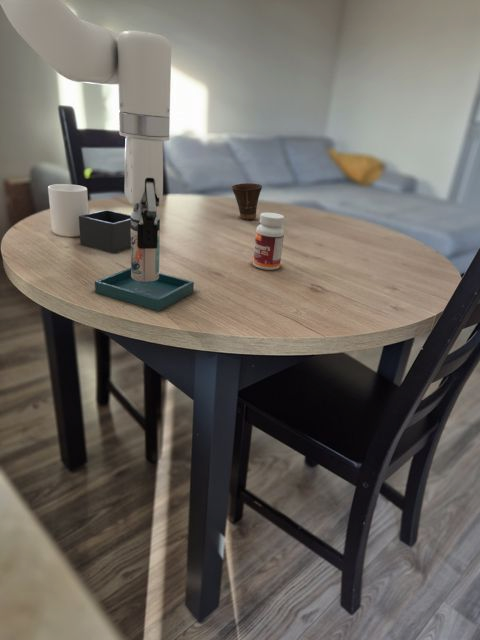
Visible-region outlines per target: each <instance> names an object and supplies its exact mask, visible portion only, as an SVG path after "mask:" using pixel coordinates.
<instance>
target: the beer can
mask: <svg viewBox="0 0 480 640" xmlns="http://www.w3.org/2000/svg"><path fill="white" fill-rule="evenodd" d="M144 210H146V209H143V212H144ZM130 215H131V217H130V221H131V248H130V268H131V277H132V278H133V279H134V280H136V281H137V282H141V283H151V282H154V281H156V280H158V278H159V273H160V245H161V243H160V241H161V238H160V237H161V236H160V235H161V234H160V233H161V231H160V230H161V227H160V226H161V217H160V215H159V213H158V212H157V225H158V240H157V248H156V249H140V248H138V245H137V224H139V209H135V210H132V212H131V214H130Z"/></svg>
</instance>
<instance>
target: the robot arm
mask: <svg viewBox="0 0 480 640" xmlns="http://www.w3.org/2000/svg"><path fill="white" fill-rule="evenodd" d="M0 6H1V8H2V11H3V12H4V14H5V16H6V18H7V20H8V22H9V23H10V24H11V26H12V27H13V28H14V30H15V31H16V32H17V33H18V34H19V36H20V37H21V38H22V39H23V40H24V41H25V42H26V44H27V45H29V47H30V48H31V49H32V50H33V51H34V52H35V53H36V54H37V55H38V56H39V57H40V58H41V59H42V60H43V62H45V64H47V65H48V66H49V67H50V68H52V69H53V70H54V71H55V72H56V73H57V74H59V75H60V76H61V77H63V78H65V79H66V80H69V81H71V82H75V83H86V84H92V85H103V86H115V85H117V86H118V110H119V111H118V118H119V119H118V120H119V121H118V122H119V127H118V128H119V135H120V136H121V137H123V138H125V143H124V191H123V192H124V196H125V198H126V199H127V201H128V202H129V204H130V205H131V206H132V209H133V210H135V209H139V224H137V245H138V248H140V249H156V248H157V240H158V225H157V213H158V207H160V206H161V205H162V204H163V197H164V148H163V147H164V146H163V145H164V143H163V142H167V141H170V126H171V125H170V124H171V123H170V122H171V121H170V120H171V79H172V77H171V75H172V73H171V72H172V68H171V67H172V47H171V43H170V41H169V39H168V38H167V37H165V36H163V35H161V34H157V33H154V32H148V31H143V30H131V29H130V30H124V31H121V32H120V31H116V30H113V29H110V28H106V27H103V26H101V25H98V24H96V23H94V22H89V21H86V20H83V19H81V18H80V17H79V16H78V15H76V13H75V12H74V11H73V10H72V9H71V8H70V7H69V6H68V5H67V4H66V3H65V2H64V1H63V0H0ZM143 209H146V210H144V212H143ZM133 210H132V211H133Z"/></svg>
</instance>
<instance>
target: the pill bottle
mask: <svg viewBox="0 0 480 640" xmlns="http://www.w3.org/2000/svg"><path fill="white" fill-rule="evenodd" d="M259 223H260V224H258V226H256V230H255V238H254V248H253V256H252V265H253V266H254V267H256V268H257V269H261V270H266V271H273V270H277V269H279V268H280V266H281V260H282V255H283V246H284V239H285V229H284V228H283V226H284V225H285V216H284V215H283V214H279V213H276V212H261V213H260V215H259Z"/></svg>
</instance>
